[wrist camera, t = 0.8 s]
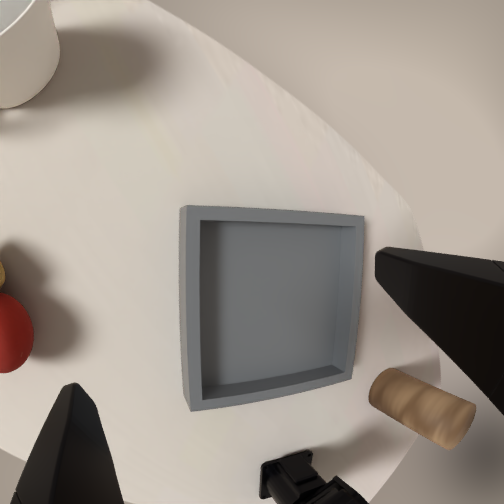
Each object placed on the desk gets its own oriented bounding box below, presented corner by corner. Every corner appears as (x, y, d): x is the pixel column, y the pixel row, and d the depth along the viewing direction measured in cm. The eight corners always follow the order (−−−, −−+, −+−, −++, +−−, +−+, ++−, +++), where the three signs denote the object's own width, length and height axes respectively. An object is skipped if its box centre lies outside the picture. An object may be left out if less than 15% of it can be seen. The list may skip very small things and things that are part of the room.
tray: (334, 368, 31) (351, 379, 28) (183, 394, 25) (190, 411, 22) (344, 216, 30) (364, 216, 27) (179, 208, 24) (186, 205, 21)
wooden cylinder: (394, 399, 36) (466, 437, 24) (365, 411, 34) (440, 458, 22) (402, 363, 36) (481, 396, 24) (372, 373, 34) (456, 415, 22)
